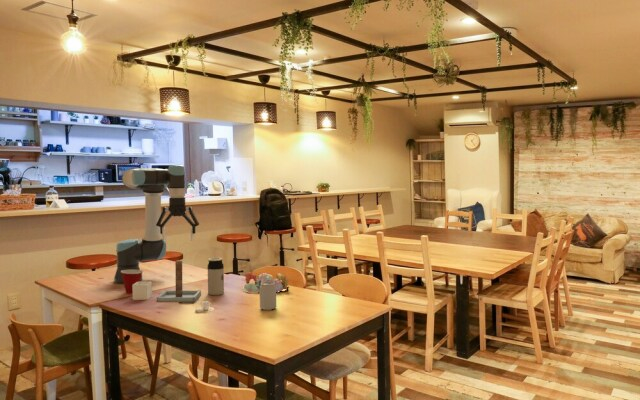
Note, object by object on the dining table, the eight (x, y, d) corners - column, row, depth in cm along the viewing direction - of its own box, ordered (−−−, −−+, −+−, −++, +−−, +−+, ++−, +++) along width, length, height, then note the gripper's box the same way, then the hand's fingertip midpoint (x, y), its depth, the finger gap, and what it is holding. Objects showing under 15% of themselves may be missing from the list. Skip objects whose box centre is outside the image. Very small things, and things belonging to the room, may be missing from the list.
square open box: (137, 297, 247) (137, 281, 246) (152, 297, 247) (151, 281, 246) (132, 301, 240) (132, 284, 239) (147, 301, 240) (147, 284, 239)
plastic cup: (147, 293, 255) (146, 270, 254) (125, 297, 248) (125, 273, 247) (139, 289, 263) (138, 267, 262) (118, 293, 256) (117, 270, 255)
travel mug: (204, 294, 252) (204, 259, 251) (213, 291, 259) (213, 256, 258) (218, 296, 249) (217, 260, 248) (227, 292, 256) (226, 257, 255)
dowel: (176, 296, 245) (176, 260, 244) (183, 296, 245) (183, 260, 244) (174, 298, 242) (174, 261, 241) (181, 298, 242) (181, 261, 241)
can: (279, 307, 228) (278, 281, 227) (272, 311, 221) (271, 285, 220) (264, 306, 230) (263, 280, 230) (257, 310, 223) (256, 284, 223)
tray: (165, 295, 251) (165, 290, 250) (201, 295, 251) (200, 290, 251) (156, 303, 237) (156, 297, 236) (194, 302, 237) (194, 297, 237)
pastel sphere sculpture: (282, 283, 278) (282, 266, 278) (295, 292, 256) (295, 275, 256) (238, 286, 270) (238, 270, 269) (247, 297, 248) (247, 279, 247)
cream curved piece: (196, 314, 219) (196, 305, 219) (192, 309, 226) (192, 301, 226) (216, 311, 223) (215, 302, 223) (211, 307, 230) (211, 298, 230)
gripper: (148, 197, 237) (149, 241, 238) (201, 197, 238) (202, 241, 239) (153, 196, 245) (154, 239, 246) (204, 196, 245) (205, 239, 246)
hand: (178, 240), depth 242 cm, fingers open, 13 cm apart
